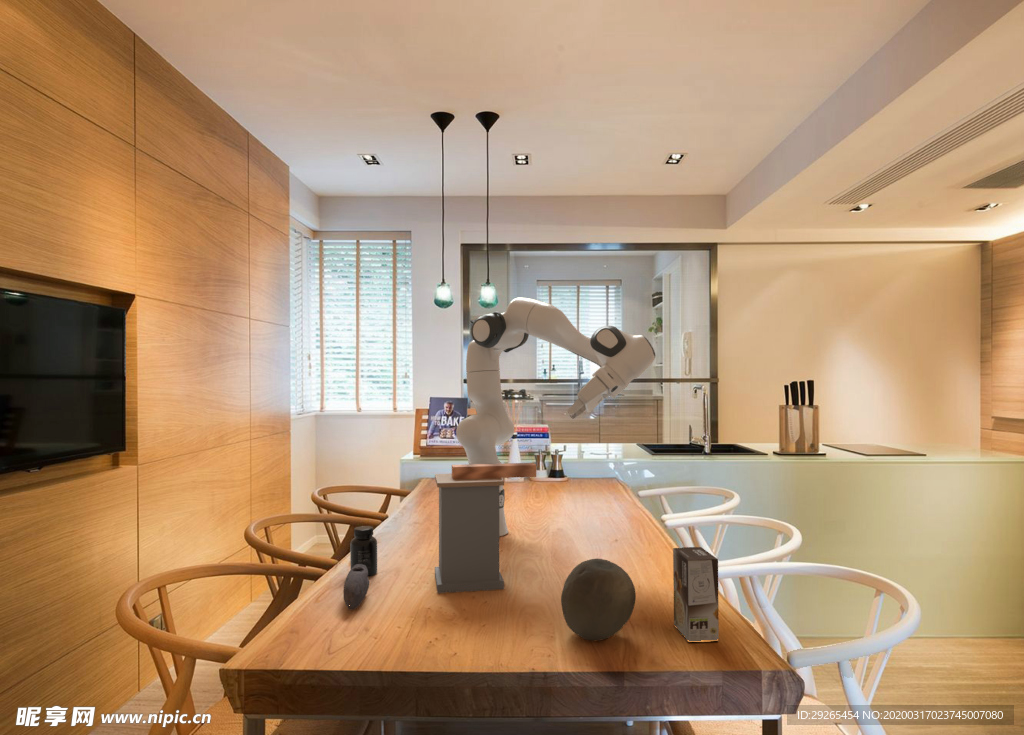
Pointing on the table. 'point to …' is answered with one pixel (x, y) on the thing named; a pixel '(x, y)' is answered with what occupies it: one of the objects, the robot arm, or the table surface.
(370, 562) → the supplement bottle
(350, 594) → the perforated stone tool
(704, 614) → the coffee box
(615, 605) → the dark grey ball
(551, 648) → the table surface
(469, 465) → the bar
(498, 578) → the stand
